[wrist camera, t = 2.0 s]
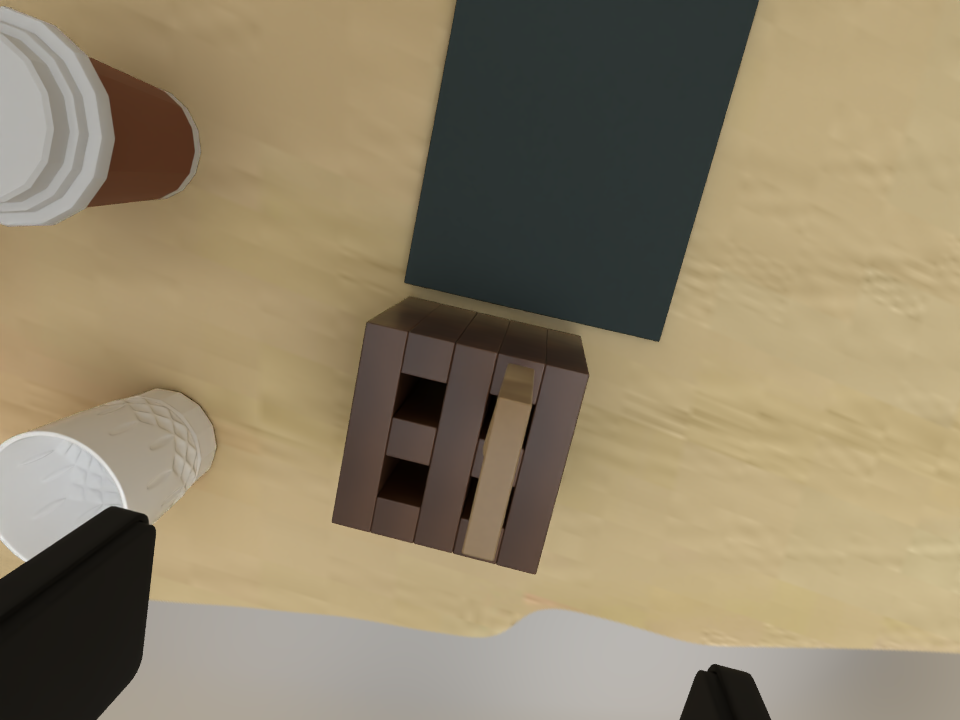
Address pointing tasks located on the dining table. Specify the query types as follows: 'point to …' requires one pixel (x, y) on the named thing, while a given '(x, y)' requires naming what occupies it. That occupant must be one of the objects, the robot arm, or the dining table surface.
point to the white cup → (101, 466)
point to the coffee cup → (81, 130)
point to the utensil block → (454, 427)
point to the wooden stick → (499, 462)
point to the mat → (575, 153)
